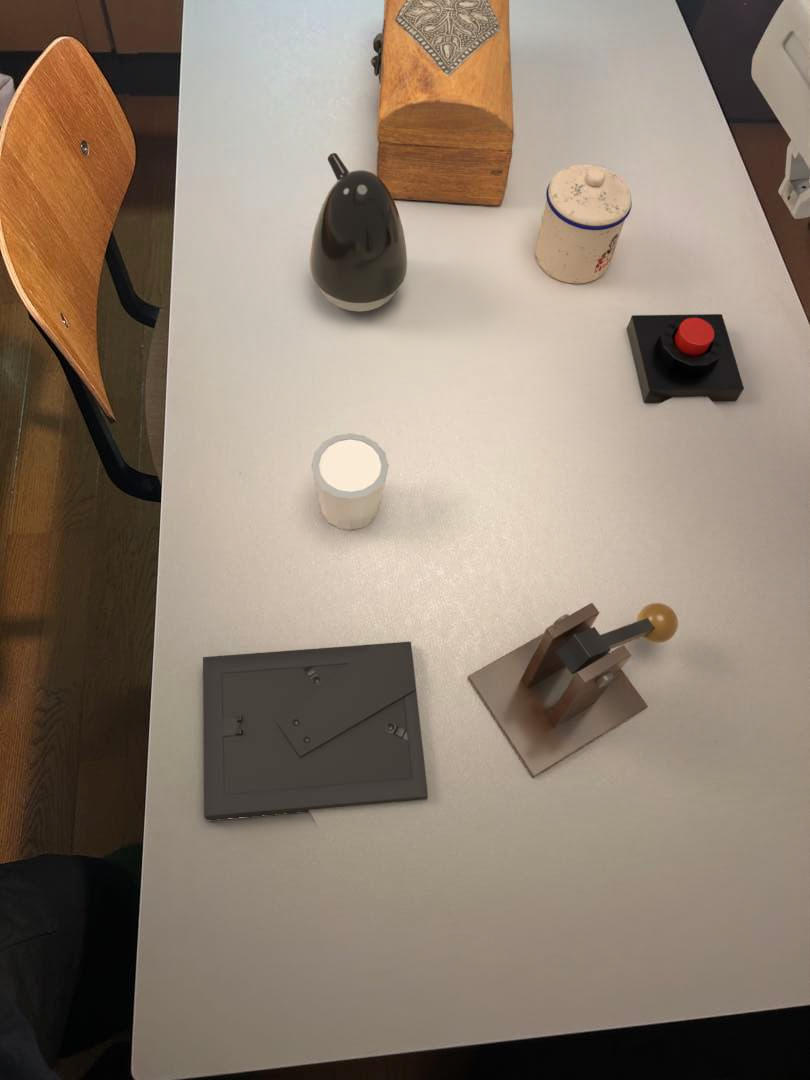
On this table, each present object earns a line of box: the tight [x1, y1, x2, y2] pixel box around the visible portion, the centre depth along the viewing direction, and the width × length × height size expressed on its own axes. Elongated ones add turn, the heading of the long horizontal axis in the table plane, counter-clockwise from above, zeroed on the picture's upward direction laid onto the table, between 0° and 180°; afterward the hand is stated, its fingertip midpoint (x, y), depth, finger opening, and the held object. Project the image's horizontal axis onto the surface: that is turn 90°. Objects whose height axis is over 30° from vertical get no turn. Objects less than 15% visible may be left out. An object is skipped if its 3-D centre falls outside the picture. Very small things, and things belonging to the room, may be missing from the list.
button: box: [674, 318, 714, 356], centre depth 96 cm, size 4×4×2 cm
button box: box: [626, 313, 745, 404], centre depth 98 cm, size 10×10×4 cm
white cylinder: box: [311, 433, 389, 531], centre depth 86 cm, size 7×7×7 cm
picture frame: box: [202, 641, 429, 821], centre depth 78 cm, size 13×2×18 cm
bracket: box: [467, 602, 648, 779], centre depth 76 cm, size 12×10×13 cm
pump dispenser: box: [309, 152, 408, 312], centre depth 95 cm, size 10×10×15 cm
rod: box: [556, 602, 679, 674], centre depth 75 cm, size 14×3×3 cm, turn 121°
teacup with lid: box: [534, 164, 633, 285], centre depth 102 cm, size 12×9×12 cm
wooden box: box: [370, 0, 515, 206], centre depth 110 cm, size 30×16×14 cm, turn 178°
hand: (794, 205), depth 73 cm, fingers closed
